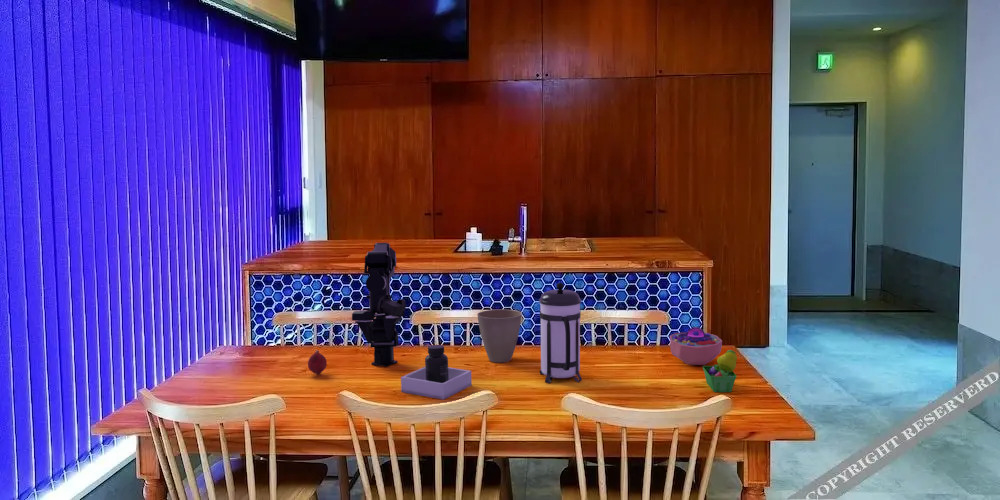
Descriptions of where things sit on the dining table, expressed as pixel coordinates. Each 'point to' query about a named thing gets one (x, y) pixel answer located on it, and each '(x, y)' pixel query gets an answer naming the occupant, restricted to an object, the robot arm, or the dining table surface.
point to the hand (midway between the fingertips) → (379, 341)
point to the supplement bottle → (436, 364)
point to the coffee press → (560, 334)
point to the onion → (317, 363)
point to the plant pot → (499, 333)
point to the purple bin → (436, 383)
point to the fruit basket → (722, 373)
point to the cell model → (695, 346)
